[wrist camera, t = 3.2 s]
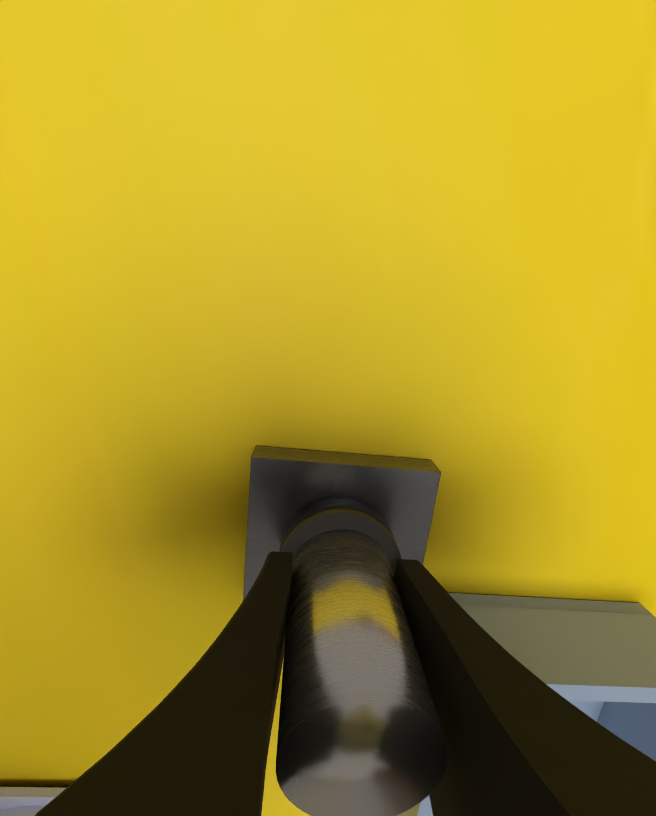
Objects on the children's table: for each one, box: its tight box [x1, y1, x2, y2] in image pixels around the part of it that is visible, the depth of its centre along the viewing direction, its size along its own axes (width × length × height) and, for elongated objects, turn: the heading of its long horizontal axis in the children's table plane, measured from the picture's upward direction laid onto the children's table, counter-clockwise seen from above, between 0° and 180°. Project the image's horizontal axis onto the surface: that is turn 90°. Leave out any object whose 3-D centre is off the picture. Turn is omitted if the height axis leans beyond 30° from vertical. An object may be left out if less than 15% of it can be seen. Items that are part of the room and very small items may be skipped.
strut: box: [276, 496, 448, 816], centre depth 9 cm, size 4×4×6 cm
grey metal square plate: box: [243, 446, 441, 600], centre depth 13 cm, size 6×6×1 cm
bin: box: [396, 593, 656, 816], centre depth 14 cm, size 9×9×4 cm
